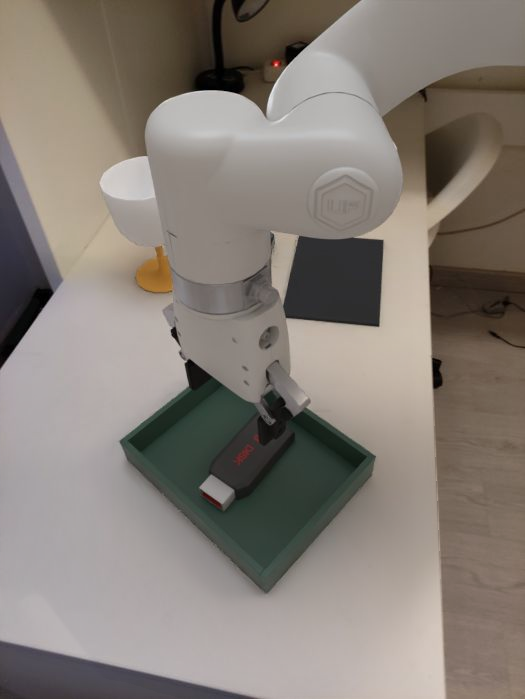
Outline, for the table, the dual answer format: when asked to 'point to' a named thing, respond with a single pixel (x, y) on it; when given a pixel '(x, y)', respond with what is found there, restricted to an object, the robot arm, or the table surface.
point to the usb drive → (243, 465)
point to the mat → (336, 281)
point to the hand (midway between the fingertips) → (236, 407)
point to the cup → (138, 217)
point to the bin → (271, 493)
